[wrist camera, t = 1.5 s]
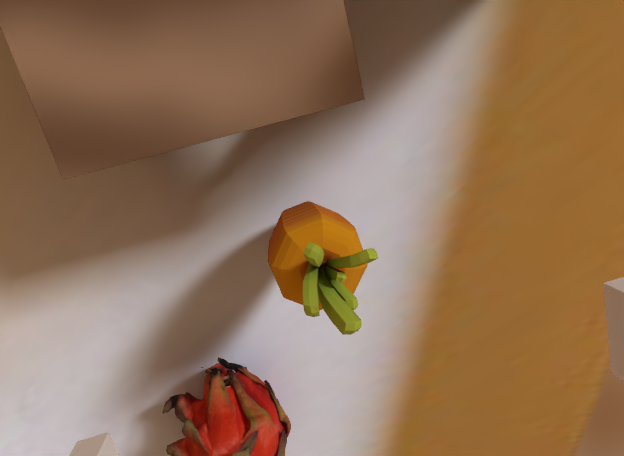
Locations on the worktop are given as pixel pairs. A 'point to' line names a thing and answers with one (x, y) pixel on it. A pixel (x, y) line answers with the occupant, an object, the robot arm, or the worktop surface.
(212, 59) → the walnut stool
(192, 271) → the worktop surface
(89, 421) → the worktop surface
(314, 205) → the carrot
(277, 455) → the dragon fruit
